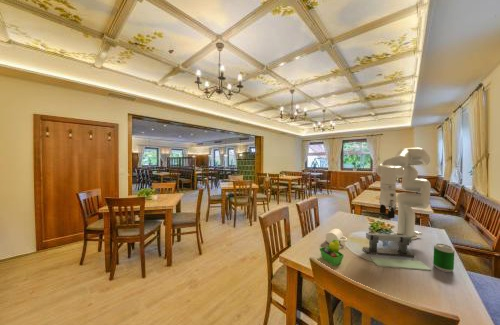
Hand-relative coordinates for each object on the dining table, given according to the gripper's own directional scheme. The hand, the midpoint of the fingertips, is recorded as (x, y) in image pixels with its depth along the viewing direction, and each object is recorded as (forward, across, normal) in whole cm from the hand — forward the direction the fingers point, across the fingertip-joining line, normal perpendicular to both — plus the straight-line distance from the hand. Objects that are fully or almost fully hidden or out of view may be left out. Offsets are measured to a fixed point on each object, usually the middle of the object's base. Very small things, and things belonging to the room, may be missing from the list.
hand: (386, 215), depth 118 cm
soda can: (+23, -13, -21) cm, 34 cm away
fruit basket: (+23, -15, +34) cm, 44 cm away
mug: (+23, +8, +25) cm, 35 cm away
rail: (+15, -1, -1) cm, 15 cm away
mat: (+23, -13, -1) cm, 26 cm away
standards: (+23, -1, -1) cm, 23 cm away
